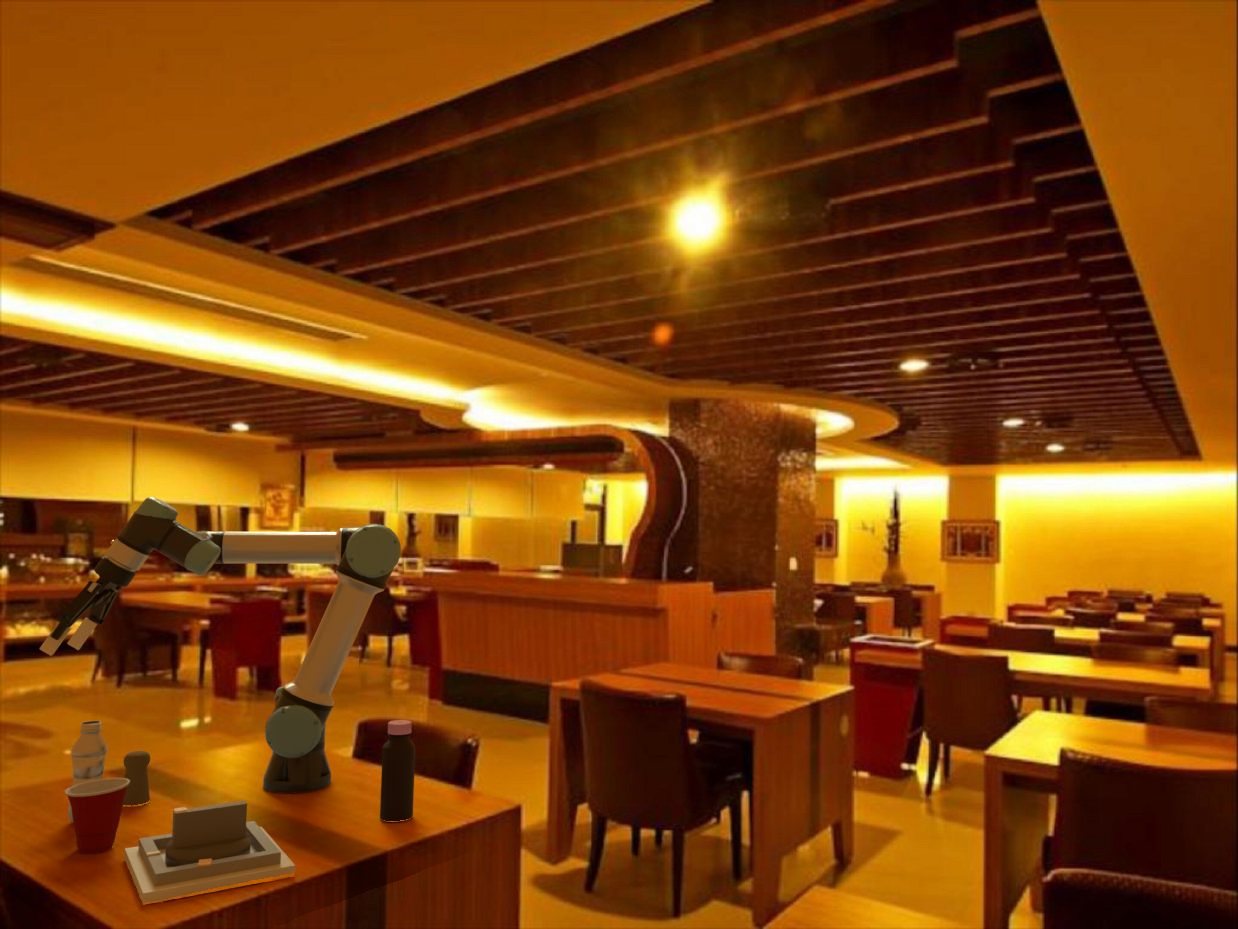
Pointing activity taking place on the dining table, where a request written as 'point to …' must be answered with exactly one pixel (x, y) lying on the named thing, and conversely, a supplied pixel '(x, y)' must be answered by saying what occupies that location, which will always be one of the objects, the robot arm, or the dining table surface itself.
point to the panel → (199, 883)
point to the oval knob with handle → (208, 833)
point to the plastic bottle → (88, 755)
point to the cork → (137, 777)
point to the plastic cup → (97, 812)
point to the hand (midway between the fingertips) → (59, 649)
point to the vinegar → (397, 773)
